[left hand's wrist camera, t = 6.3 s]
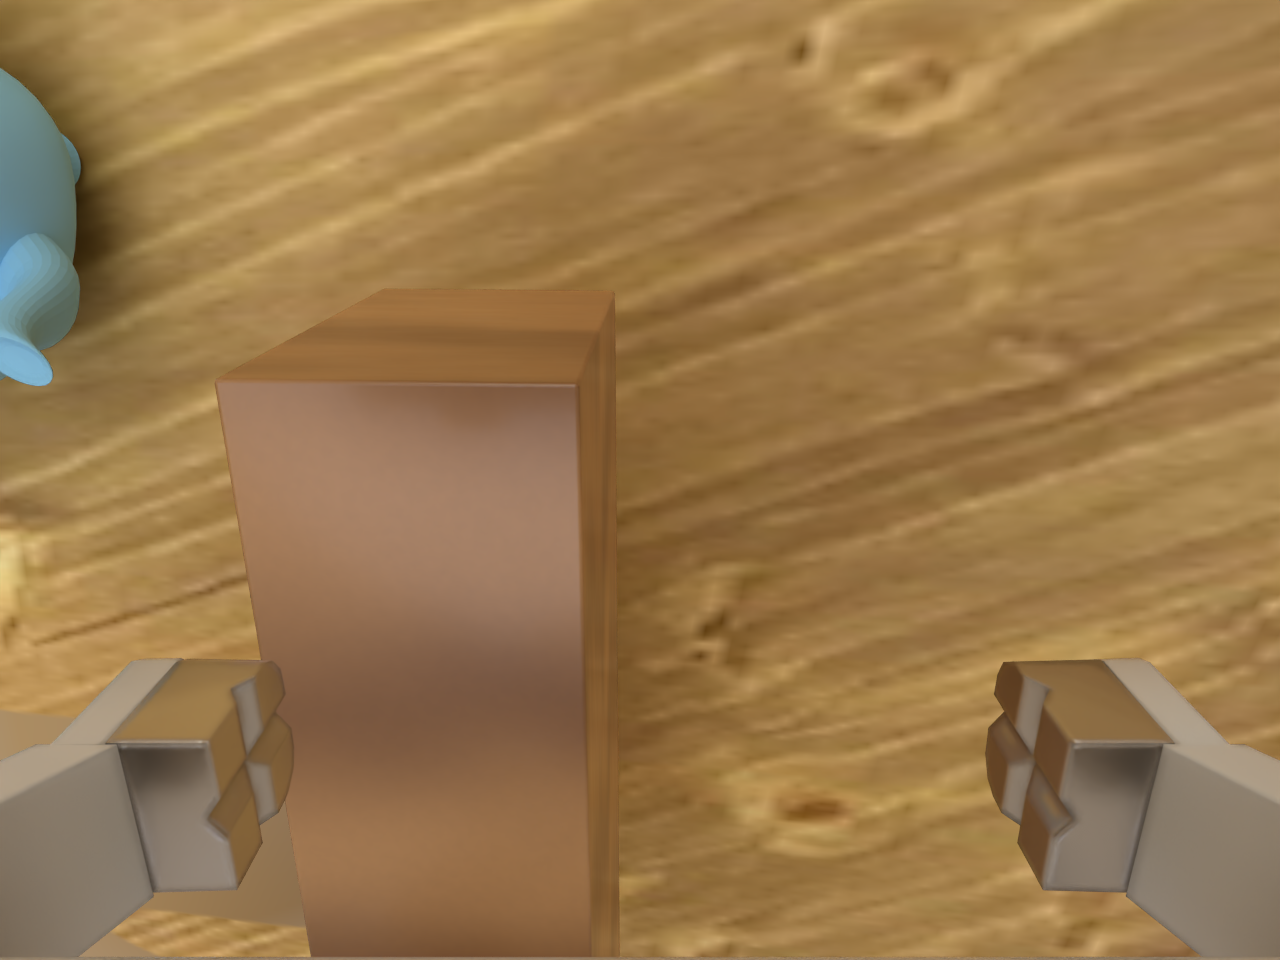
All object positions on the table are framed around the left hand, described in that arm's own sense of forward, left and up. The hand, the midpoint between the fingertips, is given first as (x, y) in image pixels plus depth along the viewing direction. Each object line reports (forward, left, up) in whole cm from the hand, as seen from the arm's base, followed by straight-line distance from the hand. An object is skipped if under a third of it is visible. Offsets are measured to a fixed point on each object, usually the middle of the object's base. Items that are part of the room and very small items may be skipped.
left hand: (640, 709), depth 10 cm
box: (+11, +2, -16) cm, 20 cm away
